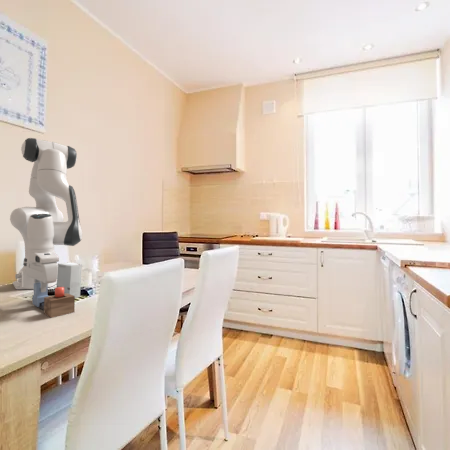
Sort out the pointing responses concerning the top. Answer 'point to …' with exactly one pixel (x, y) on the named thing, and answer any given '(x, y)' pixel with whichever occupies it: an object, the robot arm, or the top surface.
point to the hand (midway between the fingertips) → (40, 290)
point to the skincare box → (69, 278)
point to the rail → (41, 305)
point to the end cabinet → (59, 305)
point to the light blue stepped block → (39, 294)
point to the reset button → (59, 291)
